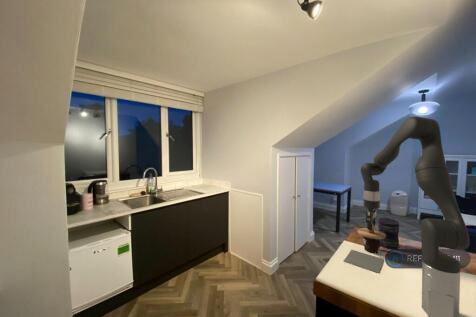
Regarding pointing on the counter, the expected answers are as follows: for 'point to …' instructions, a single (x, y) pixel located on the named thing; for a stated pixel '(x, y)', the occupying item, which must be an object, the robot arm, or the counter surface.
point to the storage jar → (389, 233)
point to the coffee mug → (371, 244)
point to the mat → (364, 261)
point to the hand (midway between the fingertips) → (371, 227)
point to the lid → (371, 233)
